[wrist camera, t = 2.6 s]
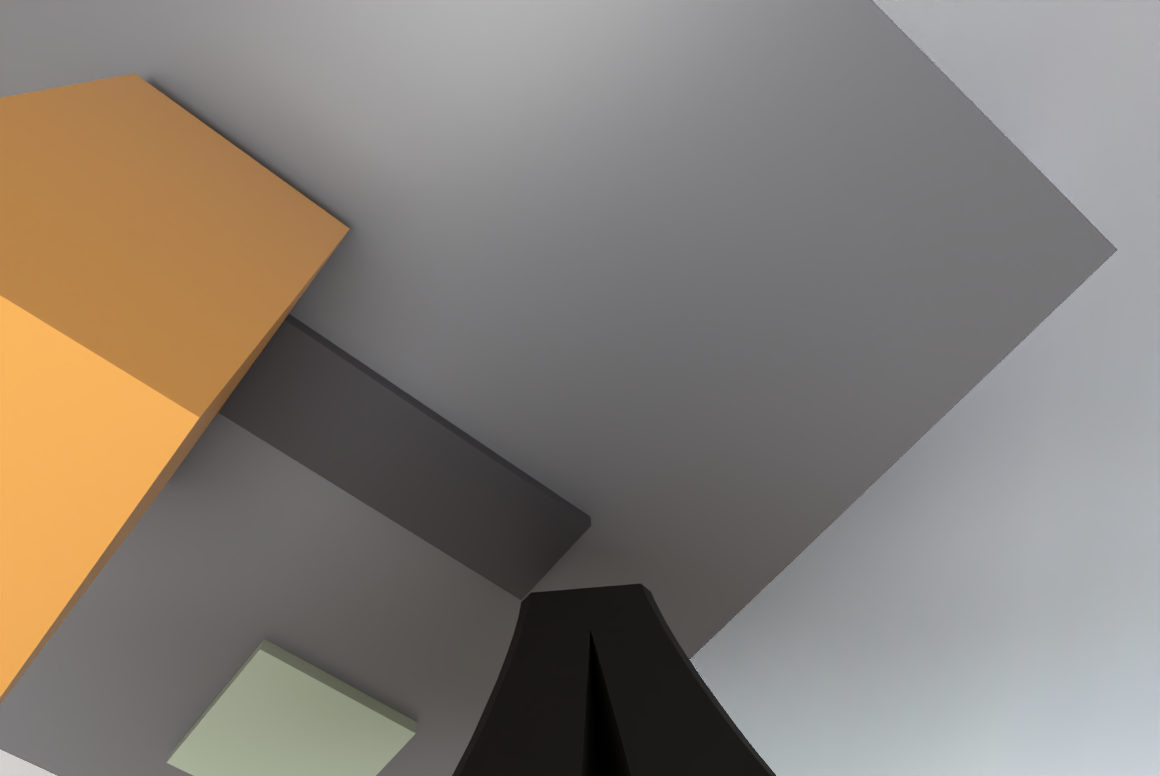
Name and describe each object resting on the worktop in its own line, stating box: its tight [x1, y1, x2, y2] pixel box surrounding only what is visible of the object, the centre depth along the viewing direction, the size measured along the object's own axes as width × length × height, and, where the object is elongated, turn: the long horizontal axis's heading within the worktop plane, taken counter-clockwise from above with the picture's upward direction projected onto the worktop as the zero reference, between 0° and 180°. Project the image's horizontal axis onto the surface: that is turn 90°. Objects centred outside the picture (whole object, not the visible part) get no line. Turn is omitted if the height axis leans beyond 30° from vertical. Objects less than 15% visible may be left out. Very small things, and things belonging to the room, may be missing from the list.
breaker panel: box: [0, 0, 1117, 776], centre depth 10 cm, size 18×14×3 cm
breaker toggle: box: [0, 73, 350, 705], centre depth 7 cm, size 2×4×4 cm, turn 141°
